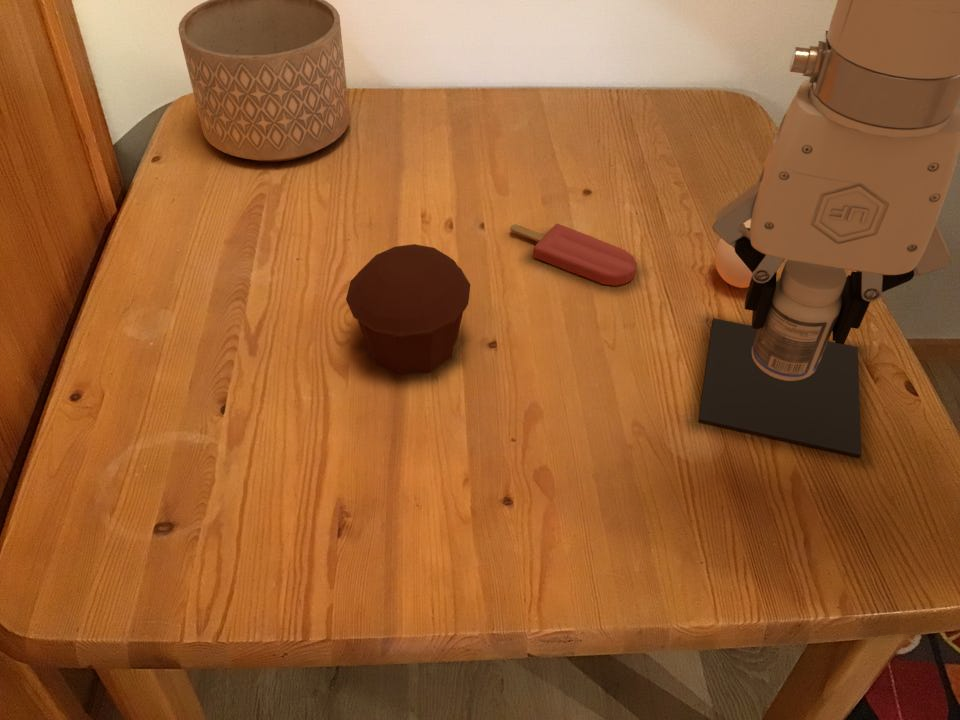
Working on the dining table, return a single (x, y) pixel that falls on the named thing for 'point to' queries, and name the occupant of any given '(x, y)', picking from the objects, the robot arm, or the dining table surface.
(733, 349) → the slate mat
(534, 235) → the popsicle
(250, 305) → the dining table surface
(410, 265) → the muffin
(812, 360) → the pill bottle
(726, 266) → the egg
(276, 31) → the planter
